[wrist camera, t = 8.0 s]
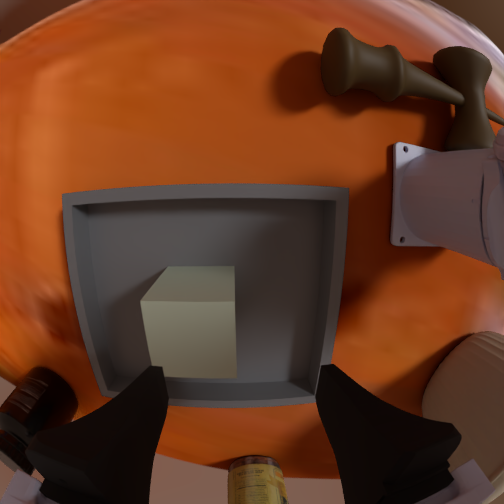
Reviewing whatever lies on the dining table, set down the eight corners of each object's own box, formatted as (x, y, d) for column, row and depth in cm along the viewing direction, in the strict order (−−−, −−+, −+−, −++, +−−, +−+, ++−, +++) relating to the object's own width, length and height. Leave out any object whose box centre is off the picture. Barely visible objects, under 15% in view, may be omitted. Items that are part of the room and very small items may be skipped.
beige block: (234, 265, 18) (234, 301, 12) (235, 326, 19) (236, 378, 13) (167, 266, 18) (140, 300, 12) (174, 325, 19) (154, 375, 13)
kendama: (311, 27, 16) (482, 86, 17) (316, 132, 18) (489, 169, 19) (332, -13, 10) (518, 77, 11) (344, 113, 12) (530, 173, 13)
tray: (332, 187, 18) (349, 187, 15) (313, 379, 22) (322, 401, 19) (83, 192, 17) (62, 193, 14) (113, 375, 21) (102, 395, 18)
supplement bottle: (28, 383, 21) (-20, 444, 9) (37, 353, 20) (-25, 422, 8) (72, 420, 22) (35, 490, 10) (87, 396, 21) (41, 479, 10)
